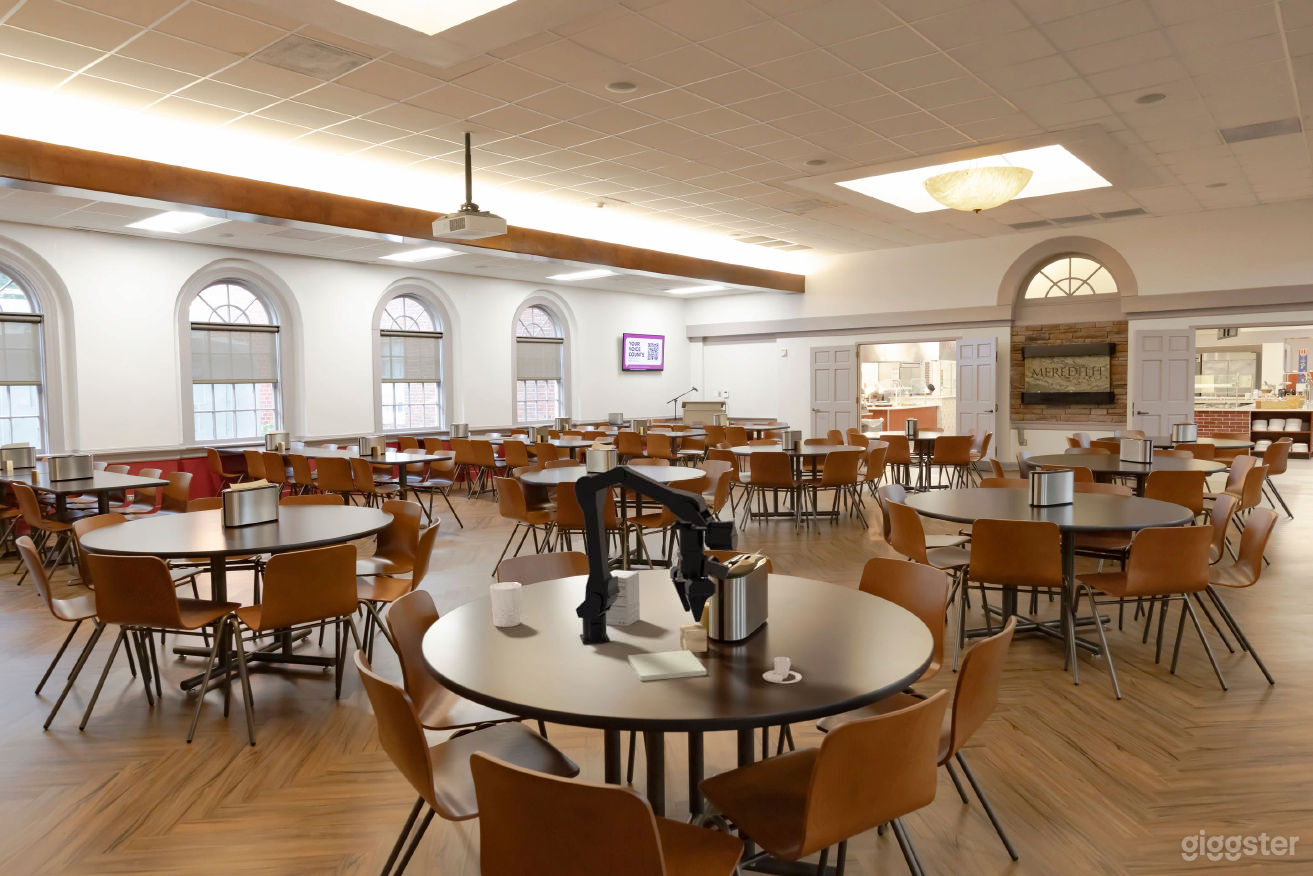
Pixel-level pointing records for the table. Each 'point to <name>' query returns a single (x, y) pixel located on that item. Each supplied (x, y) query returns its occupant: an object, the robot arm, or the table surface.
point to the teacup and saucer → (781, 671)
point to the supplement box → (625, 599)
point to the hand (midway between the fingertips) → (692, 616)
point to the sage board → (666, 665)
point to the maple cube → (693, 638)
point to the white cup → (506, 603)
